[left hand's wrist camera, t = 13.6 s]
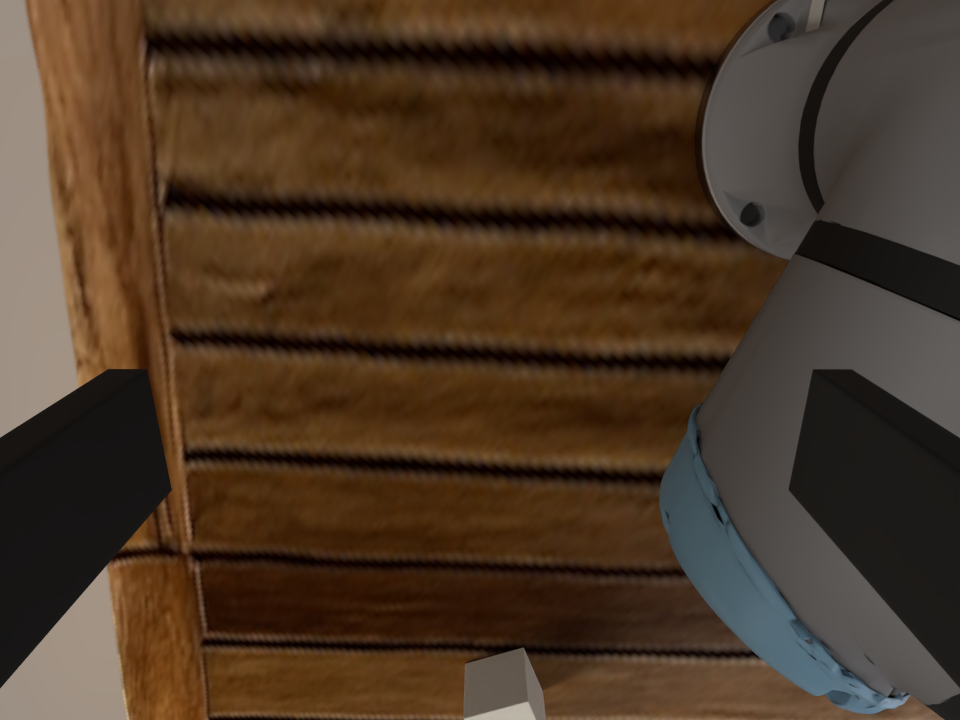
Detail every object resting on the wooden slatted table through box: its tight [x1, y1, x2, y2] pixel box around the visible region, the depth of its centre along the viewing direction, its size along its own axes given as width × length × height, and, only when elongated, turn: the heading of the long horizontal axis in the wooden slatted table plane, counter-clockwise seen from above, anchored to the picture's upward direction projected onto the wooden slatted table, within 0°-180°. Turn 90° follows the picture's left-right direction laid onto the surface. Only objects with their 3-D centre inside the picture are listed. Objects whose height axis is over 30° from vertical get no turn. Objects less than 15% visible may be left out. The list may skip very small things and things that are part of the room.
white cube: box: [464, 648, 546, 720], centre depth 48 cm, size 5×5×5 cm
